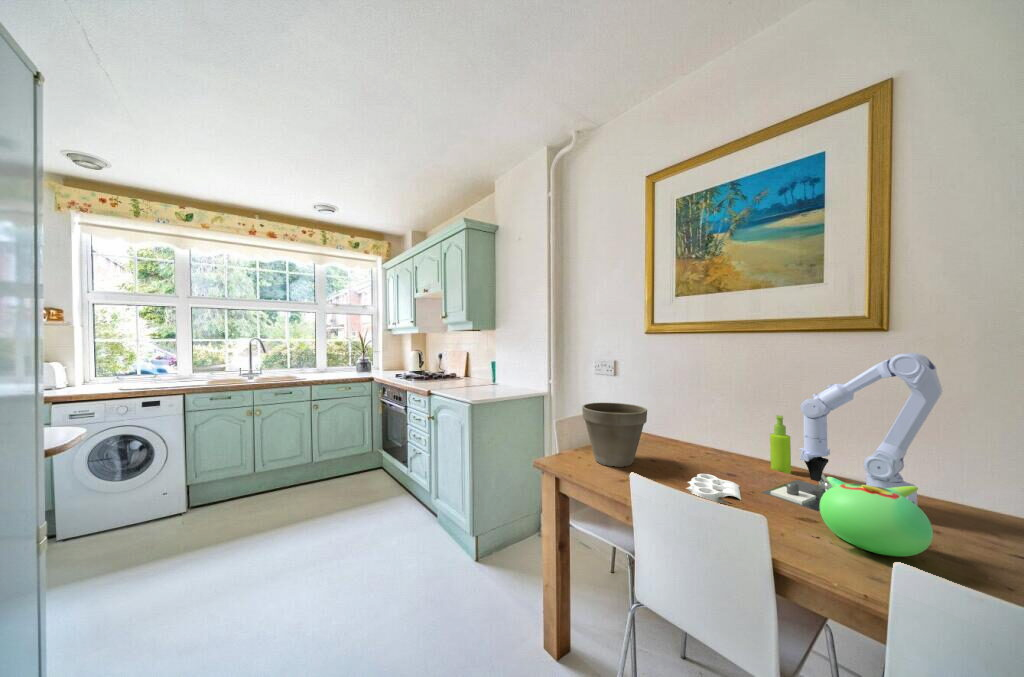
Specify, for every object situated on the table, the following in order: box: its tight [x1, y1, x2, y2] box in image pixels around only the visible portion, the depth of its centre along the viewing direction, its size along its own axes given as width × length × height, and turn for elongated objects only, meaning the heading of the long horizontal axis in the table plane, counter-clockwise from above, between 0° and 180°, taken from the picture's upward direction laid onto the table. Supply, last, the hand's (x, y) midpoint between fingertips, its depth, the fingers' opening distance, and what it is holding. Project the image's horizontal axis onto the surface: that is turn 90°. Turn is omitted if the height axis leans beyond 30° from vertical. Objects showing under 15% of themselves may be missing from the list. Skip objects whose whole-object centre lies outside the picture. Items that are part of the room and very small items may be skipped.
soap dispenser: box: [769, 414, 792, 475], centre depth 131 cm, size 6×7×20 cm
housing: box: [761, 479, 825, 512], centre depth 108 cm, size 14×21×2 cm, turn 118°
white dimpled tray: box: [685, 473, 742, 506], centre depth 112 cm, size 3×18×15 cm
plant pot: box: [581, 402, 648, 468], centre depth 144 cm, size 25×25×22 cm
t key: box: [818, 473, 832, 492], centre depth 112 cm, size 11×4×3 cm, turn 154°
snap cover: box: [770, 482, 816, 504], centre depth 106 cm, size 8×8×4 cm
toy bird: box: [819, 476, 934, 557], centre depth 82 cm, size 18×17×15 cm
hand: (815, 480), depth 113 cm, fingers closed, pressing on t key
